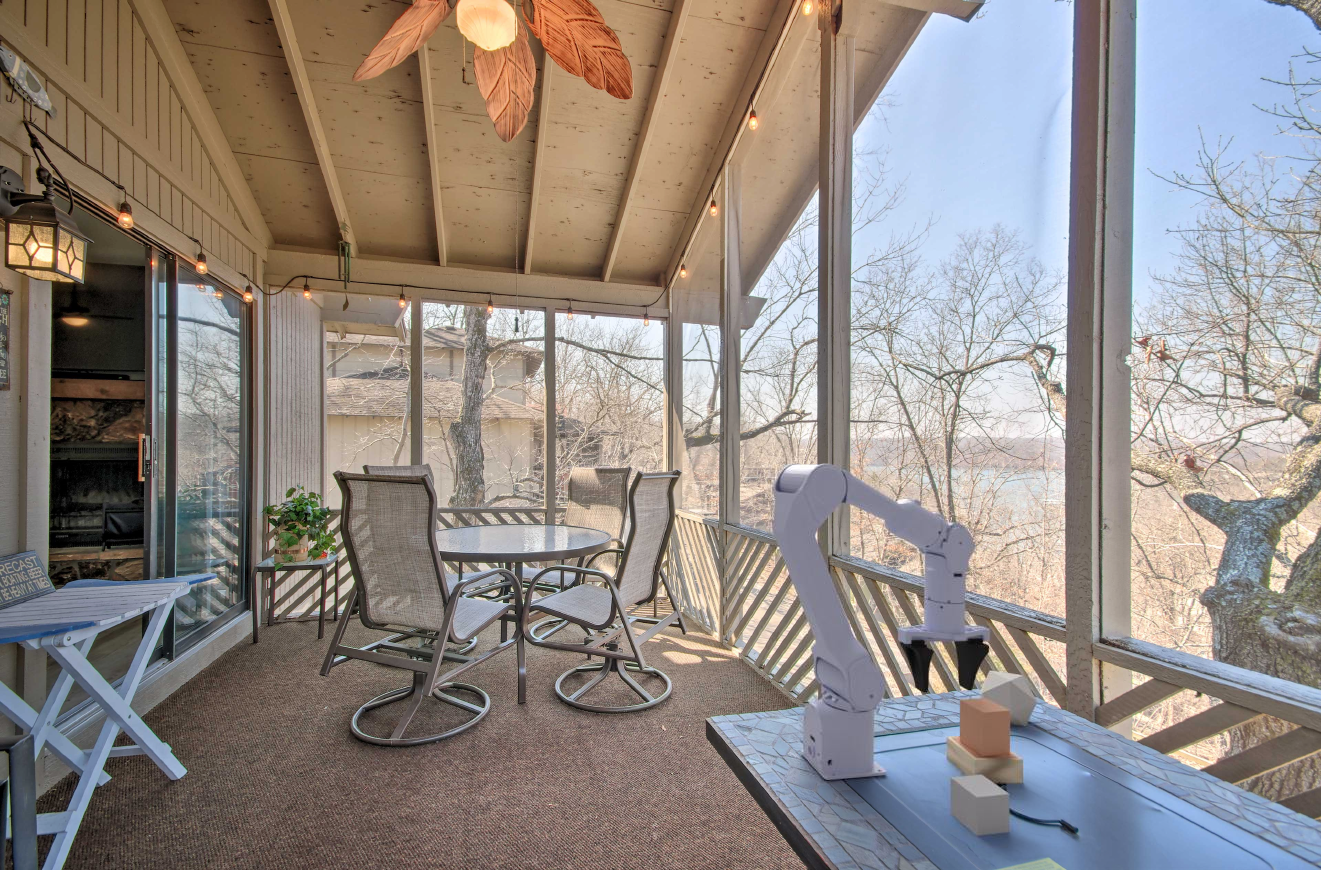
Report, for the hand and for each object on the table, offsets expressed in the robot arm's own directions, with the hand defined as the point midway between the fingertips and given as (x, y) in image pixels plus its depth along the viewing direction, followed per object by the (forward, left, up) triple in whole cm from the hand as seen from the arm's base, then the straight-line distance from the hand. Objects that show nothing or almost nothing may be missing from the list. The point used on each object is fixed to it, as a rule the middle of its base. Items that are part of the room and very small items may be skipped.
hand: (943, 689), depth 91 cm
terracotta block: (+2, -6, -6) cm, 9 cm away
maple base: (+2, -6, -10) cm, 12 cm away
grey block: (-8, -17, -10) cm, 21 cm away
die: (+19, +9, -10) cm, 23 cm away
